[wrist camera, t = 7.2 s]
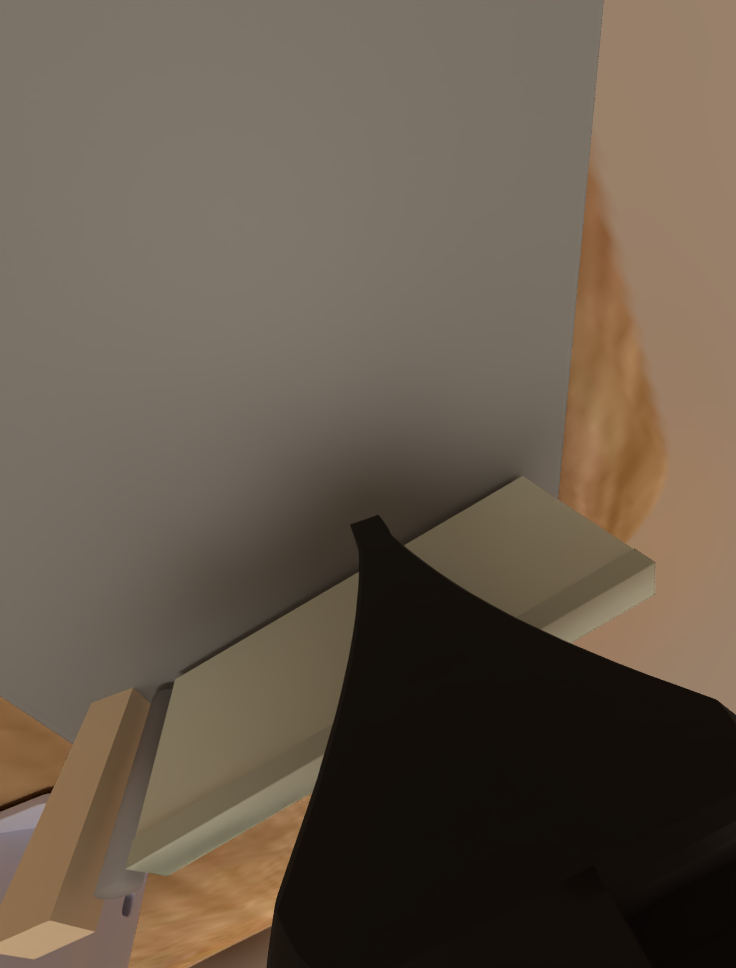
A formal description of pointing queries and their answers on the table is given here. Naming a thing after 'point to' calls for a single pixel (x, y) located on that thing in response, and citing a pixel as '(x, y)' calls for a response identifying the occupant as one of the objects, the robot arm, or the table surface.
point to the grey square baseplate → (256, 334)
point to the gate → (340, 678)
